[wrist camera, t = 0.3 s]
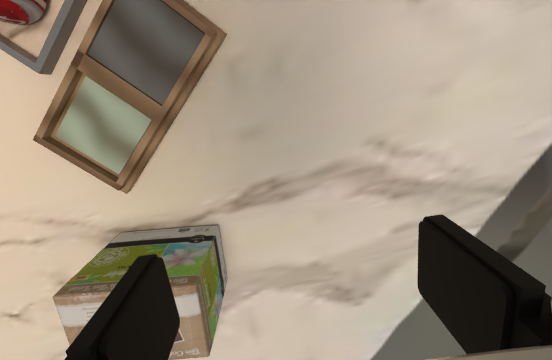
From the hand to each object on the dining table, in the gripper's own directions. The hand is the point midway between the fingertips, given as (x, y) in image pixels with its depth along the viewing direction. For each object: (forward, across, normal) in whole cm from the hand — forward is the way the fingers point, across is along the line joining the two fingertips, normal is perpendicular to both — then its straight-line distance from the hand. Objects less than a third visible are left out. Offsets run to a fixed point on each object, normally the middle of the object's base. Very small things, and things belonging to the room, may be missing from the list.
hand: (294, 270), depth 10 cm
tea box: (+31, +17, +16) cm, 39 cm away
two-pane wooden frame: (+31, +17, -9) cm, 36 cm away
